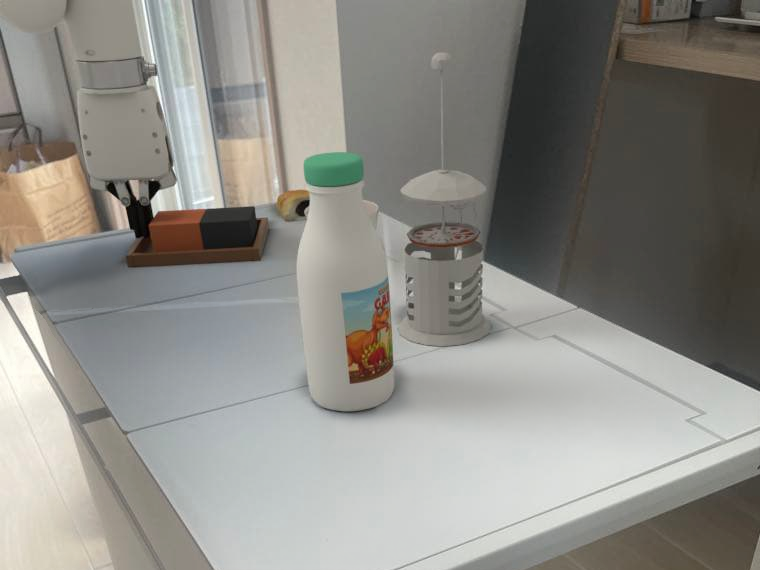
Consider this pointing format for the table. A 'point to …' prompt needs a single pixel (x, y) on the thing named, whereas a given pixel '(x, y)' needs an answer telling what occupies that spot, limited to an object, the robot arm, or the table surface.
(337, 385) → the milk bottle
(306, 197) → the pastry
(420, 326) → the french press
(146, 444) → the table surface
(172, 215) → the orange block
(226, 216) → the seated pad
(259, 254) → the tray
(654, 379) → the table surface
